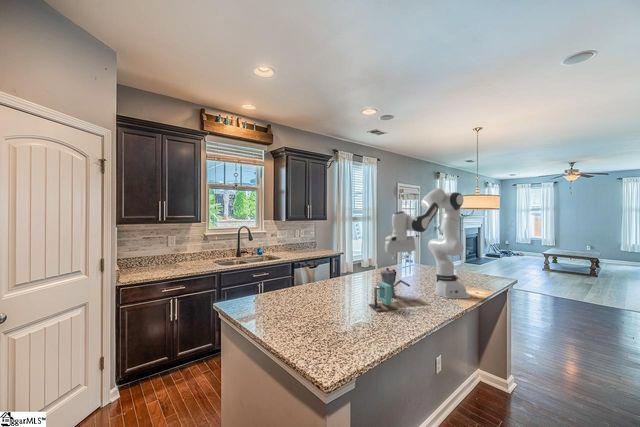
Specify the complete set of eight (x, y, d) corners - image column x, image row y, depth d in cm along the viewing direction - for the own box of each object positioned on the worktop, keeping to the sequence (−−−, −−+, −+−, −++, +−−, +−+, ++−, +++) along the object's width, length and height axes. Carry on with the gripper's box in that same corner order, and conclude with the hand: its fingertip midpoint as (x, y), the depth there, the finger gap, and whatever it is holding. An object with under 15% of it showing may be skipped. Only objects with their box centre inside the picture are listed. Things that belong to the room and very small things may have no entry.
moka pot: (376, 297, 190) (376, 268, 190) (389, 293, 201) (389, 265, 201) (388, 300, 183) (388, 270, 183) (401, 295, 194) (401, 267, 194)
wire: (407, 302, 176) (407, 278, 176) (412, 304, 172) (412, 280, 172) (370, 305, 170) (369, 281, 170) (373, 308, 165) (373, 283, 165)
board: (419, 300, 182) (419, 299, 182) (431, 306, 171) (431, 304, 171) (368, 305, 174) (368, 303, 174) (377, 312, 162) (377, 310, 162)
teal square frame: (382, 299, 176) (382, 281, 176) (391, 304, 165) (391, 286, 165) (378, 299, 175) (378, 281, 175) (386, 304, 164) (386, 286, 164)
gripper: (411, 235, 182) (412, 256, 182) (383, 237, 177) (384, 259, 177) (417, 236, 176) (418, 258, 176) (387, 238, 171) (388, 261, 171)
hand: (400, 258), depth 176 cm, fingers open, 8 cm apart
